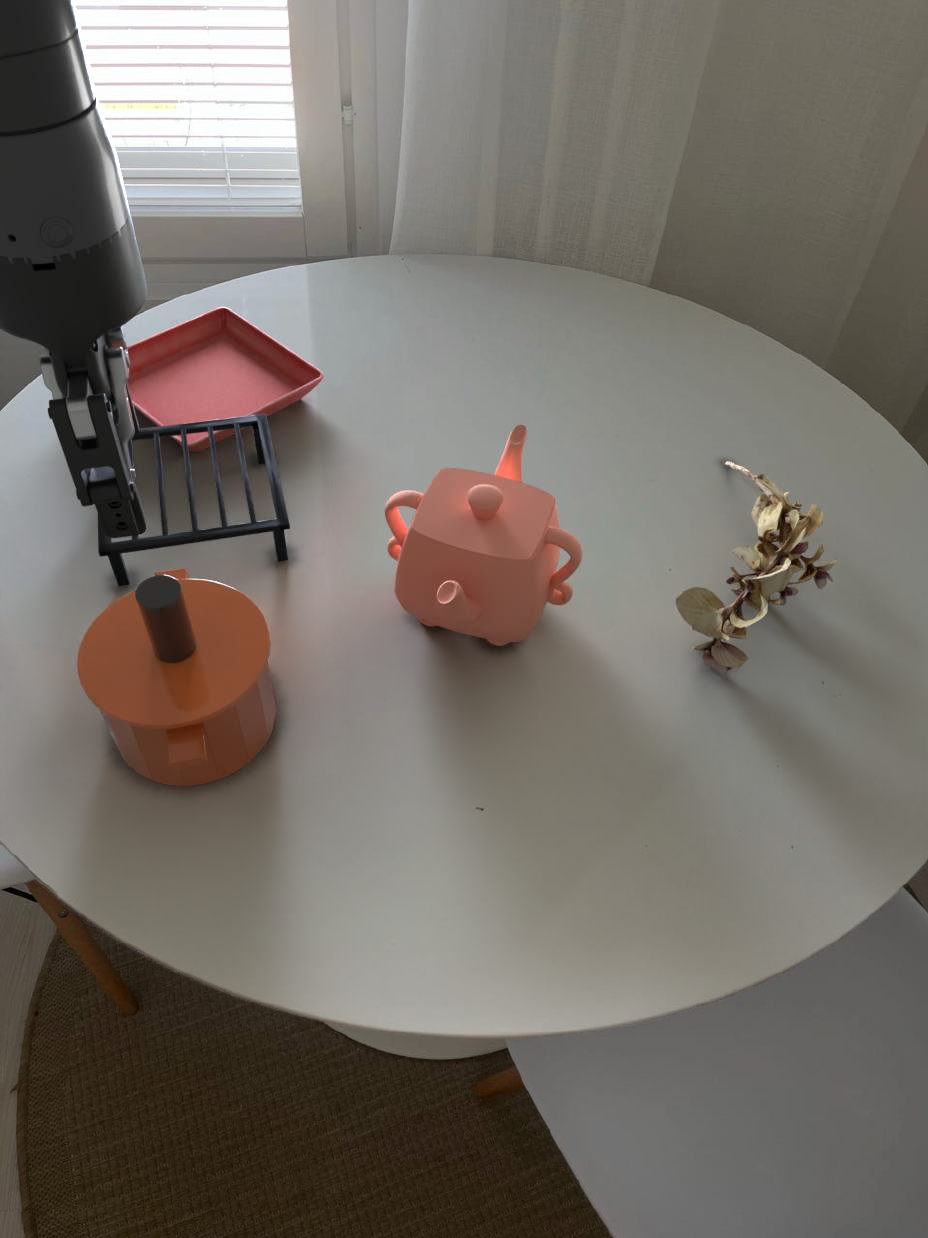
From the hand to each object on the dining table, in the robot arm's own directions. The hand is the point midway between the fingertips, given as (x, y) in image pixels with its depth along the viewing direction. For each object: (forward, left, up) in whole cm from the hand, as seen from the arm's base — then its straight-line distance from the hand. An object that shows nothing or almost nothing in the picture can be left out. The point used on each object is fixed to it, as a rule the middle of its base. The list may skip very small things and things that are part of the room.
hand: (124, 482), depth 53 cm
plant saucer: (+5, +42, -25) cm, 49 cm away
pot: (0, 0, -24) cm, 24 cm away
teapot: (+25, +7, -25) cm, 36 cm away
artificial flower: (+51, +5, -25) cm, 57 cm away
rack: (+2, +23, -24) cm, 34 cm away
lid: (0, 0, -16) cm, 16 cm away
